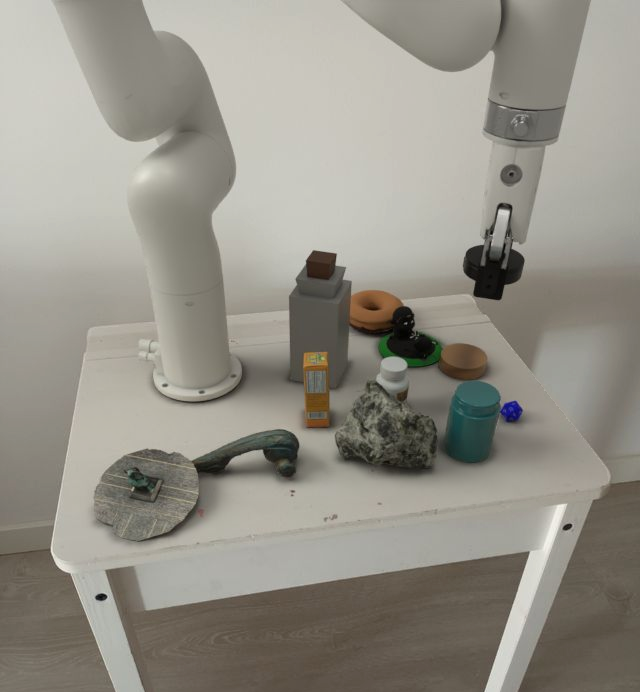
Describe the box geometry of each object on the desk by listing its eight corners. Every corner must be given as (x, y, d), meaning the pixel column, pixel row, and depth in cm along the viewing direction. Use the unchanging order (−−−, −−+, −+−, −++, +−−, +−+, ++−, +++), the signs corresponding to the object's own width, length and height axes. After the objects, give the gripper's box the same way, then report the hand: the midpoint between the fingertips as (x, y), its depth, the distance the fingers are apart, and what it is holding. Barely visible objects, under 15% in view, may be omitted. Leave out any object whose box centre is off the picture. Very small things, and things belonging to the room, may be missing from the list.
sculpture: (90, 466, 78) (117, 422, 74) (160, 479, 84) (190, 438, 80) (97, 551, 71) (128, 506, 67) (174, 559, 76) (207, 518, 72)
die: (516, 428, 87) (505, 413, 86) (503, 423, 90) (493, 408, 88) (529, 413, 88) (519, 398, 86) (516, 409, 90) (506, 394, 89)
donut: (341, 316, 101) (341, 338, 104) (406, 317, 101) (404, 339, 104) (343, 285, 109) (343, 306, 112) (403, 286, 109) (401, 307, 111)
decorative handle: (293, 442, 84) (292, 411, 81) (305, 477, 79) (305, 446, 76) (174, 461, 81) (169, 430, 78) (180, 499, 76) (174, 467, 73)
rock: (394, 495, 85) (438, 432, 85) (416, 508, 76) (464, 437, 77) (318, 441, 82) (364, 376, 83) (332, 448, 74) (383, 376, 74)
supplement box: (303, 412, 89) (303, 350, 83) (329, 412, 89) (330, 350, 83) (303, 428, 87) (303, 365, 80) (329, 428, 87) (331, 365, 80)
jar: (440, 457, 83) (449, 403, 77) (446, 428, 87) (455, 374, 82) (488, 466, 81) (501, 412, 76) (492, 436, 86) (504, 383, 80)
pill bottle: (403, 422, 88) (409, 375, 83) (371, 418, 88) (375, 370, 83) (407, 403, 91) (413, 356, 86) (375, 399, 92) (379, 352, 87)
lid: (458, 280, 75) (461, 264, 73) (466, 255, 79) (468, 240, 78) (519, 289, 73) (522, 274, 72) (523, 264, 78) (526, 249, 77)
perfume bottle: (290, 380, 95) (288, 264, 83) (304, 355, 100) (304, 242, 88) (335, 388, 93) (339, 272, 82) (347, 362, 98) (353, 249, 87)
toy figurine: (403, 373, 96) (406, 339, 92) (365, 341, 103) (367, 308, 99) (456, 355, 100) (462, 322, 96) (417, 325, 107) (421, 293, 103)
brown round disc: (436, 375, 96) (437, 364, 95) (442, 351, 101) (443, 340, 100) (483, 383, 95) (485, 372, 94) (486, 358, 100) (489, 347, 99)
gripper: (559, 150, 59) (517, 324, 70) (562, 102, 71) (527, 256, 83) (475, 141, 60) (447, 313, 72) (492, 96, 73) (467, 248, 84)
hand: (490, 281), depth 77 cm, fingers closed on lid, 6 cm apart
